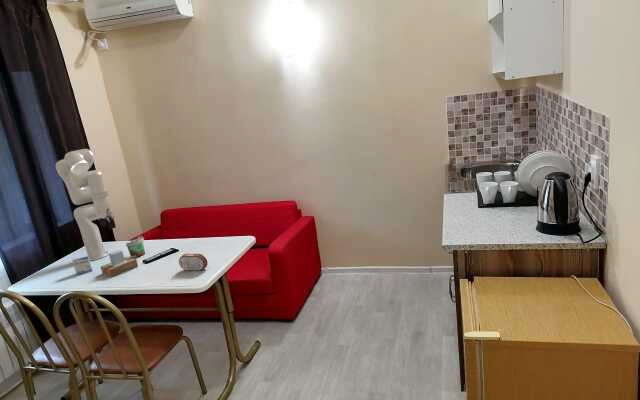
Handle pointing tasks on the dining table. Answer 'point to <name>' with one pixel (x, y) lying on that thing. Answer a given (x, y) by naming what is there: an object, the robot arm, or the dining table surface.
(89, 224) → the robot arm
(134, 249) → the food container
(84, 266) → the medicine box
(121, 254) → the slate block
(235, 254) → the dining table surface
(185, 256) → the tin
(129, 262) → the plinth
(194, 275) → the dining table surface
